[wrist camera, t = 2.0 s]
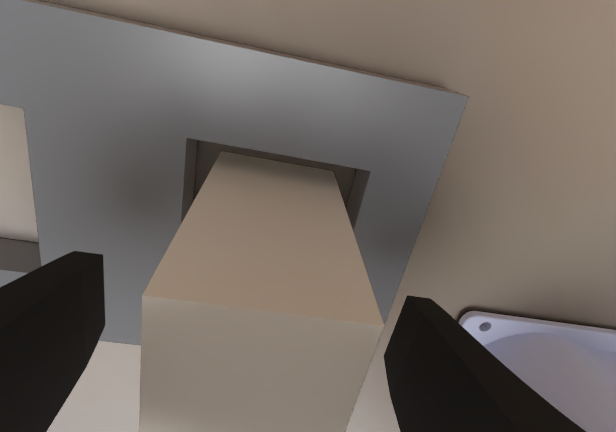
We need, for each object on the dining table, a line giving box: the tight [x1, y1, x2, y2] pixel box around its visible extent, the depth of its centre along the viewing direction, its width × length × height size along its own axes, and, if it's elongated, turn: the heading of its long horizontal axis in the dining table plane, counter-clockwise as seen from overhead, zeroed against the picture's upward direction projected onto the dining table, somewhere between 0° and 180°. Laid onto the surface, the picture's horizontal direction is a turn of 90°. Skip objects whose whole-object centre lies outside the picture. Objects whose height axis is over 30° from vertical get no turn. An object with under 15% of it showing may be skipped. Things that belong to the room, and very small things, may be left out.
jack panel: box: [0, 0, 469, 345], centre depth 13 cm, size 20×11×2 cm, turn 78°
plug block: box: [139, 151, 384, 432], centre depth 11 cm, size 4×4×8 cm
